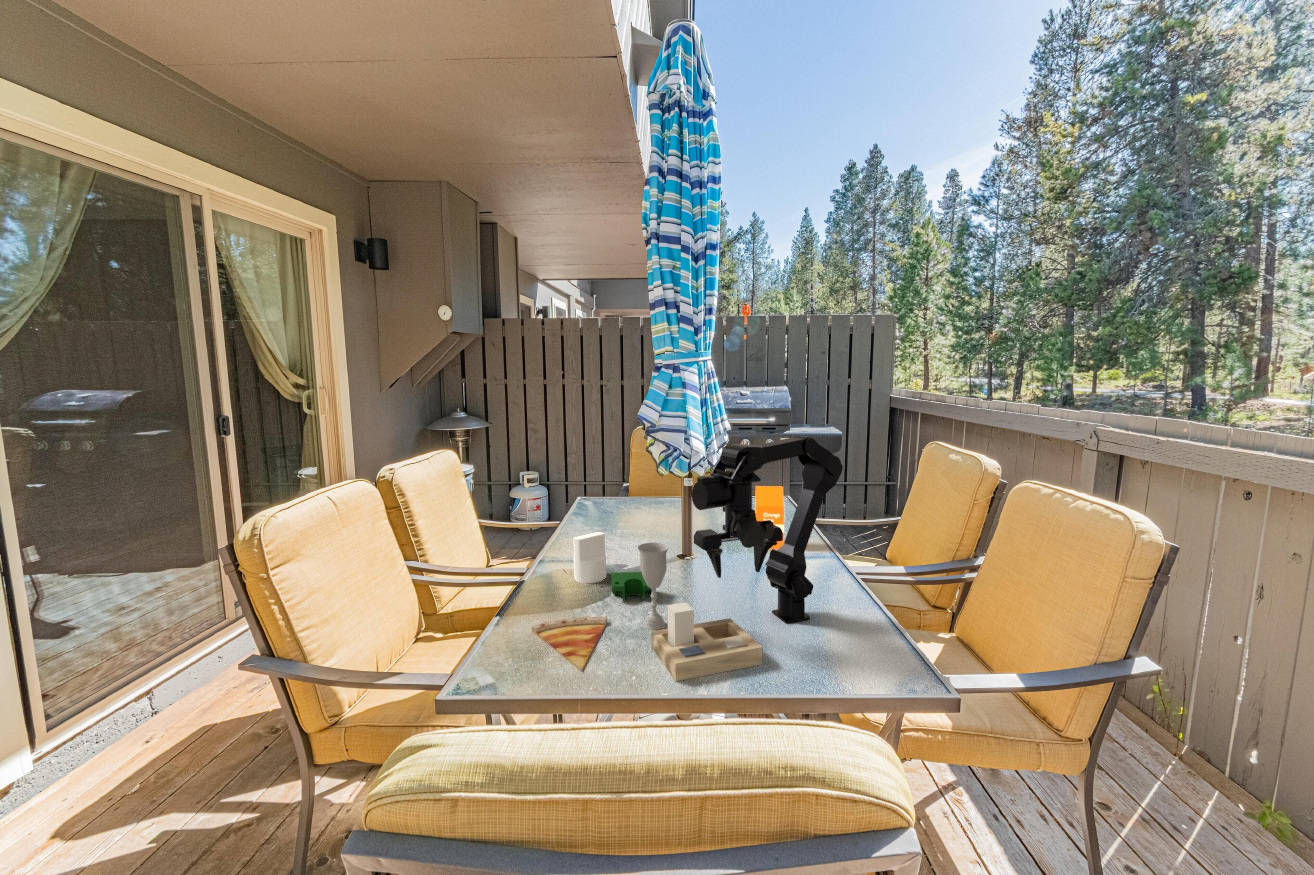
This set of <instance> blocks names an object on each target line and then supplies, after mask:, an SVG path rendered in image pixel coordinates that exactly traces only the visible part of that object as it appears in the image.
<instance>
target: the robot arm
mask: <svg viewBox="0 0 1314 875" xmlns="http://www.w3.org/2000/svg"><path fill="white" fill-rule="evenodd" d="M795 457H796V459H797V462H798V463H799V464H800V465H801V466H802V467H803V468H802V472H801V477H802V483H803V489H802V491H801V493H800V494H801V495H800V498H799V501H798V502H797V505H796V508H795V510H794V514H793V517H792V518H791V522H790V525H789V528H788V531H787V533H786V536H785V538H784V544H783V545H782V546H781V547H780V548H779V549H778V550H775V549H772V550H771V551H768V550H769V549H770V548H771V547H772V546H774V545H777V542H778V541H782V540H783V532H782V529H781V528H780V527H778V526H776V525H774V524H773V522H772V521H771V520H765V521H757V519H756V513H755V509H753V483H758V482H760V481H761V480H762V479H761V477H759V476H758V475H757V474H756V473H755V472H756V471H758V470H760V469H762V467H763V466H764V465H766V464H768V463H769V464H770V463H772V462H774V463H775V462H777V461H782V460H786V459H791V458H795ZM843 468H844V467H843V465H842V461H841V459H840V458H839V457H838V456H837V455H835V454H834V453H832V452H831V451H830V450H828V449H827V448H825V447H824V446H822V445H820V443H819V442H817V440H815V438H813V437H811V436H805V435H795V436H793V437H789V438H786V439H780V440H775V441H774V440H773V441H771V442H770V441H769V442H764V443H760V444H745V443H744V444H743V443H729V444H727V445H724V447H723V449H722V451H721V454H720V456H719V458H718V459H717V461H716V463H715V465H714V466H713V469H712V470H711V471H710V474H709V475H706V476H704V475H700V476H697V478H696V481H697V482H695V483H694V484H693V486H692V490H691V492H690V494H691V495H690V496H691V500H692V503H693V505H694V507H695V508H696V509H697V510H698V511H704V510H710V509H717V508H722V512H724V524H722V531H724V532H717V531H715V530H713V529H711V528H710V529H701V530H696V531H695V532H694V535H693V544H694V545H695V546H697V547H699V548H700V549H702V551H703V550H704V551H705V552H706V553H707V555H708V557H709V560H710V562H711V564H712V567H713V570H714V572H715V574H716V576H717V578H718V579H721V578H722V560H721V558H722V556H721V555H722V553H723V551H724V550H723V549H722V548H720V547H721V546H722V545H723V544H722V543H727V542H737V541H739V542H741V545H742V547H744V548H747V549H750V548H752V547H753V559H754V560H753V562H754V570H755V572H756V573H760V571H761V568H762V567H763V564H764V561H765V558H766V556H767V554H768V552H769V556H768V560H767V561H765V562H766V563H765V566H766V568H765V574H766V578H767V580H768V581H769V583H770V587H772V588H774V589H777V609H772V610H771V613H772V614H773V615H775V616H776V617H777V618H778V619H780V620H781V621H782V622H784V623H785V624H789V623H796V622H802V621H806V620H811V616H810V615H808V614H806V607H805V606H806V602H805V598H808V596H811V595H812V593H813V589H814V584H813V583H812V582H811V581H810V580H809V579H808V578H807V577H806V576H805V575H806V572H807V562H806V561H807V560H806V555H805V554H806V553H805V552H806V549H807V546H808V543H809V541H810V538H811V535H812V532H813V529H814V526H815V523H816V521H817V518H818V515H819V512H820V509H821V506H822V505H823V504H822V503H823V501H824V498H825V496H826V494H827V493H828V492H830V490H832V489H833V488H834V487H835V486H836V485H837V482H838V481H839V479H840V477H841V475H842V473H843Z"/></svg>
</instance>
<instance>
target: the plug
mask: <svg viewBox="0 0 1314 875" xmlns="http://www.w3.org/2000/svg"><path fill="white" fill-rule="evenodd" d="M694 611H695V610H694V609H693V608H692V607H691V606H690V605H689V603H687V602H680V603H675V604H674V603H673V604H668V605H667V629H668V643H669V645H670V646H671V647H677V646H683V645H689V644H694V624H695V621H694V620H695V619H694V618H695V613H694Z"/></svg>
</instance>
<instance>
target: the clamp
mask: <svg viewBox="0 0 1314 875" xmlns="http://www.w3.org/2000/svg"><path fill="white" fill-rule="evenodd" d="M610 577H611V579H610V580H611V581H610V582H611V586H610V587H611V594H612V595H614V596H622V602H626V598H627V596H640V597H642V601H644V602H645V601H646V595H645V594H648V595H651V594H652V589H651V588H649V587H648V586H647V584H646V582H645V580H644V578H643V575H642V572H641V571H626V572H624V571H623V572H622V571H621V572H620V571H619V572H611V576H610ZM638 594H639V595H638Z"/></svg>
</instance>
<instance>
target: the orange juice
mask: <svg viewBox="0 0 1314 875" xmlns="http://www.w3.org/2000/svg"><path fill="white" fill-rule="evenodd" d="M754 498H755V501H754V503H755V505H754V510H755V513H756V519H757V521H765V520H771V521H772V522H773V524H774V525H776V526H778V527H780V528H781V529H782V532H783V540H782V541H778V542H777V545H774V546H772V547H771V548H770V549H779V548H780V547H781V546H782V545H783V544H784V541H785V536H784V535H785V505H784V504H785V499H784V486H778V485H777V486H774V485H773V486H772V485H770V486H768V485H764V486H763V485H762V486H761V485H755V497H754Z"/></svg>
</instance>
